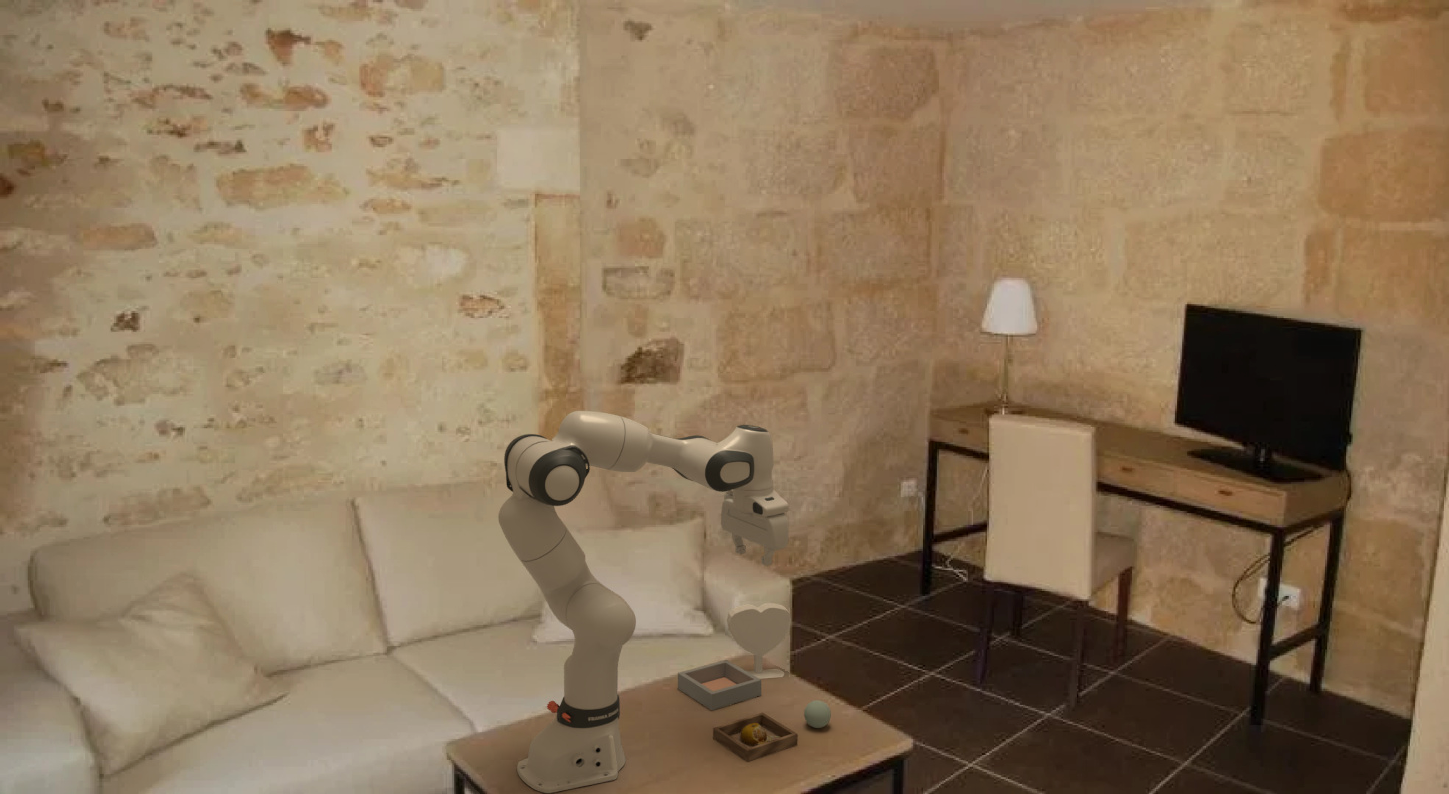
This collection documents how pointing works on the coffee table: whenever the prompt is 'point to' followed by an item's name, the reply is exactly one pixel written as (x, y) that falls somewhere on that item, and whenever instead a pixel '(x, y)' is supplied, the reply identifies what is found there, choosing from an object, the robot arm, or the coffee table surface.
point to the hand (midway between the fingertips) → (753, 559)
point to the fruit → (755, 735)
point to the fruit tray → (748, 754)
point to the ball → (817, 714)
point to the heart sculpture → (759, 632)
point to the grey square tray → (719, 684)
